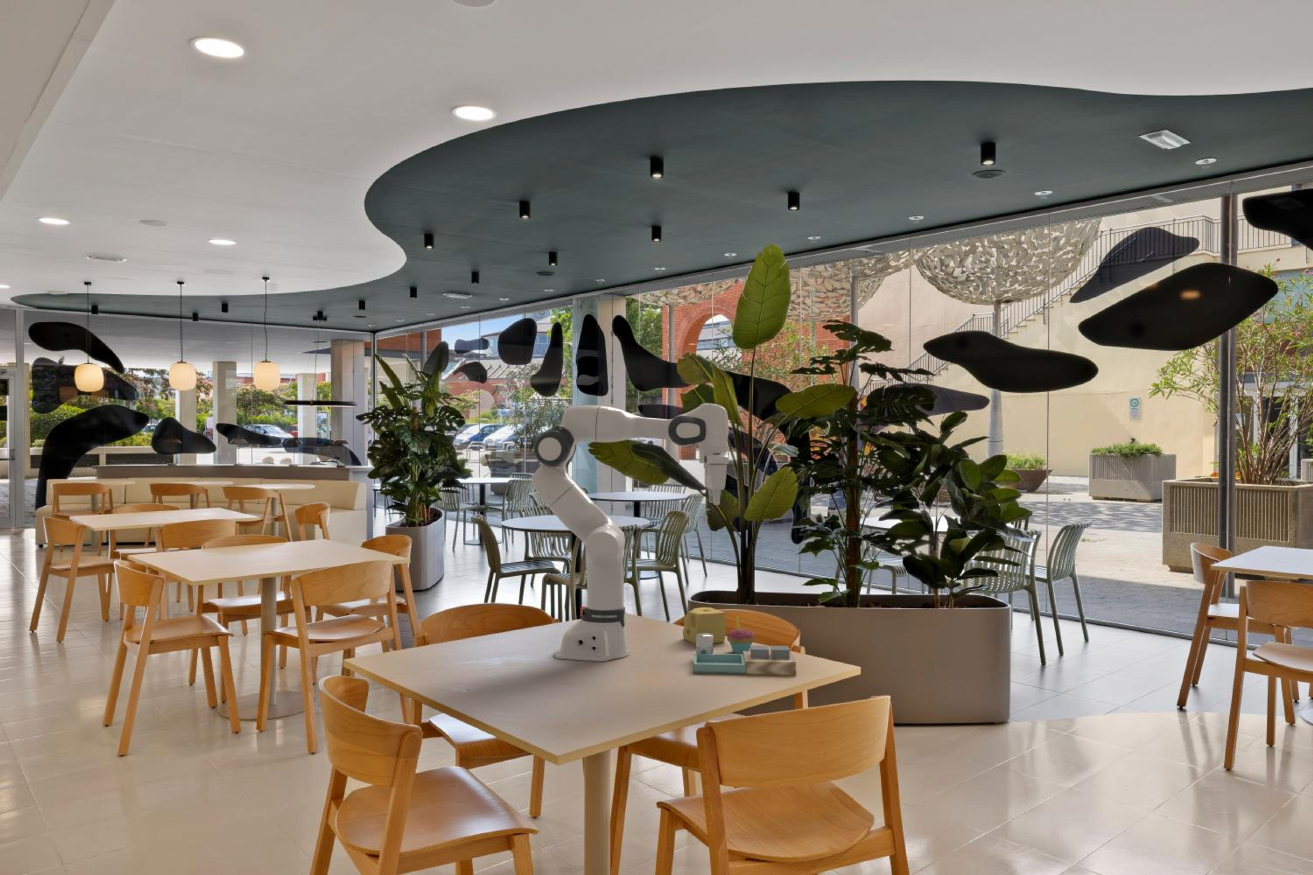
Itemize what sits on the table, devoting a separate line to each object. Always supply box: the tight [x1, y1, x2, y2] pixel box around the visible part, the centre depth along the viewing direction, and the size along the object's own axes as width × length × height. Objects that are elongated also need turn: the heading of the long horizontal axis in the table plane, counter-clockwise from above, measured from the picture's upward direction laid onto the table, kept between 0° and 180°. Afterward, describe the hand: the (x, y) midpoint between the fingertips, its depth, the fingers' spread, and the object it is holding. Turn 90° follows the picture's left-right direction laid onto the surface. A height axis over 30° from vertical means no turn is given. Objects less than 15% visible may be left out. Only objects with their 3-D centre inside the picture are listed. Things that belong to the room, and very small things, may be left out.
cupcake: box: [726, 614, 756, 654], centre depth 278 cm, size 9×8×12 cm
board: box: [743, 650, 797, 676], centre depth 257 cm, size 14×12×4 cm
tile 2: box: [769, 645, 791, 659], centre depth 257 cm, size 5×5×2 cm
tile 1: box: [749, 644, 770, 659], centre depth 257 cm, size 5×5×2 cm
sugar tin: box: [695, 633, 714, 654], centre depth 269 cm, size 5×5×7 cm
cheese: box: [682, 606, 727, 645], centre depth 293 cm, size 10×11×10 cm
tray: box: [693, 653, 746, 675], centre depth 258 cm, size 14×12×2 cm
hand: (714, 503), depth 271 cm, fingers open, 8 cm apart
